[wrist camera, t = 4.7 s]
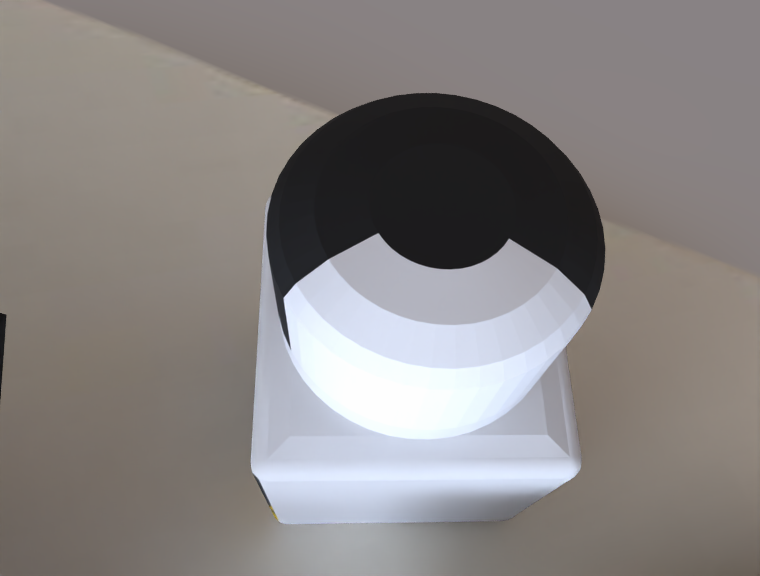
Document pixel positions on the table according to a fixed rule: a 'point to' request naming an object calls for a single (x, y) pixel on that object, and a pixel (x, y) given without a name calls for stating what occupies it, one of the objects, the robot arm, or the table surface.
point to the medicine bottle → (421, 316)
